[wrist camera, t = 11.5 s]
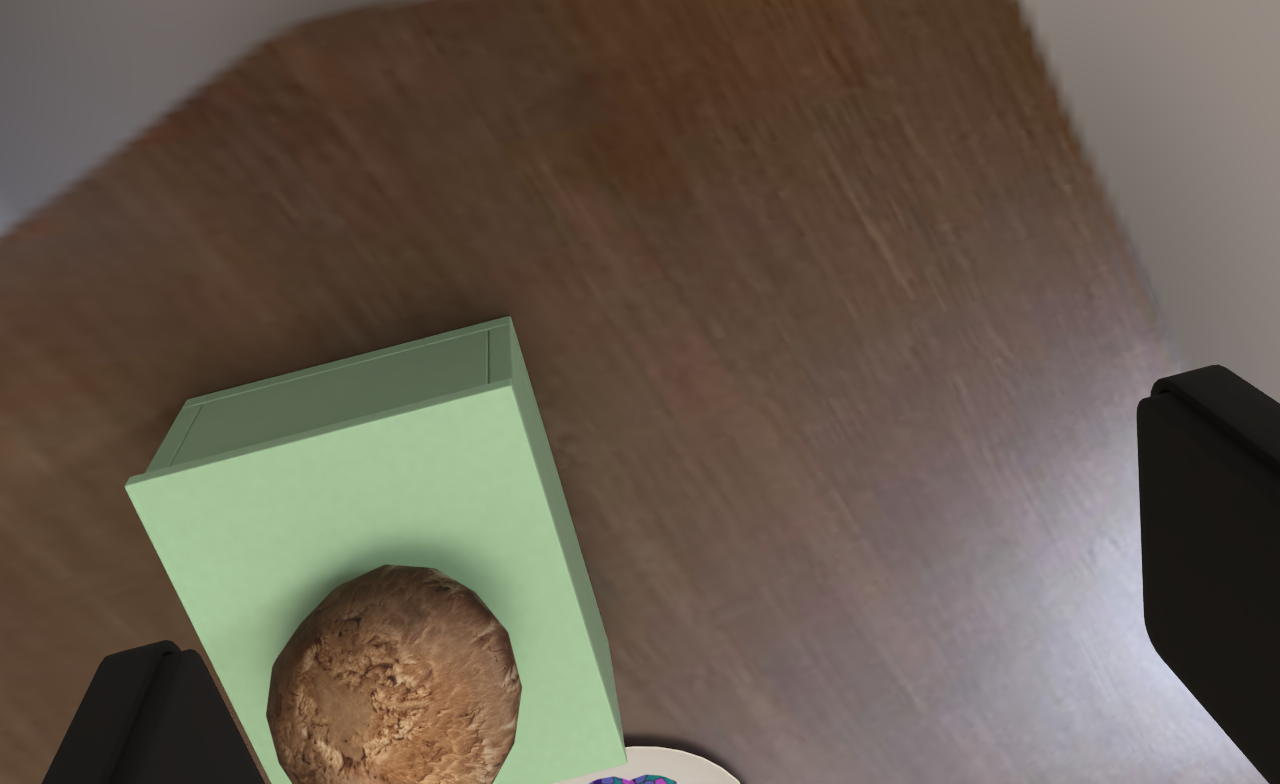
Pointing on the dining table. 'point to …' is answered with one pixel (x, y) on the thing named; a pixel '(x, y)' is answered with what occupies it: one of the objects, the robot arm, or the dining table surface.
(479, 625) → the mushroom
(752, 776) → the dining table surface
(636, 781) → the pudding
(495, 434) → the green flat panel
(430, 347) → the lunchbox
